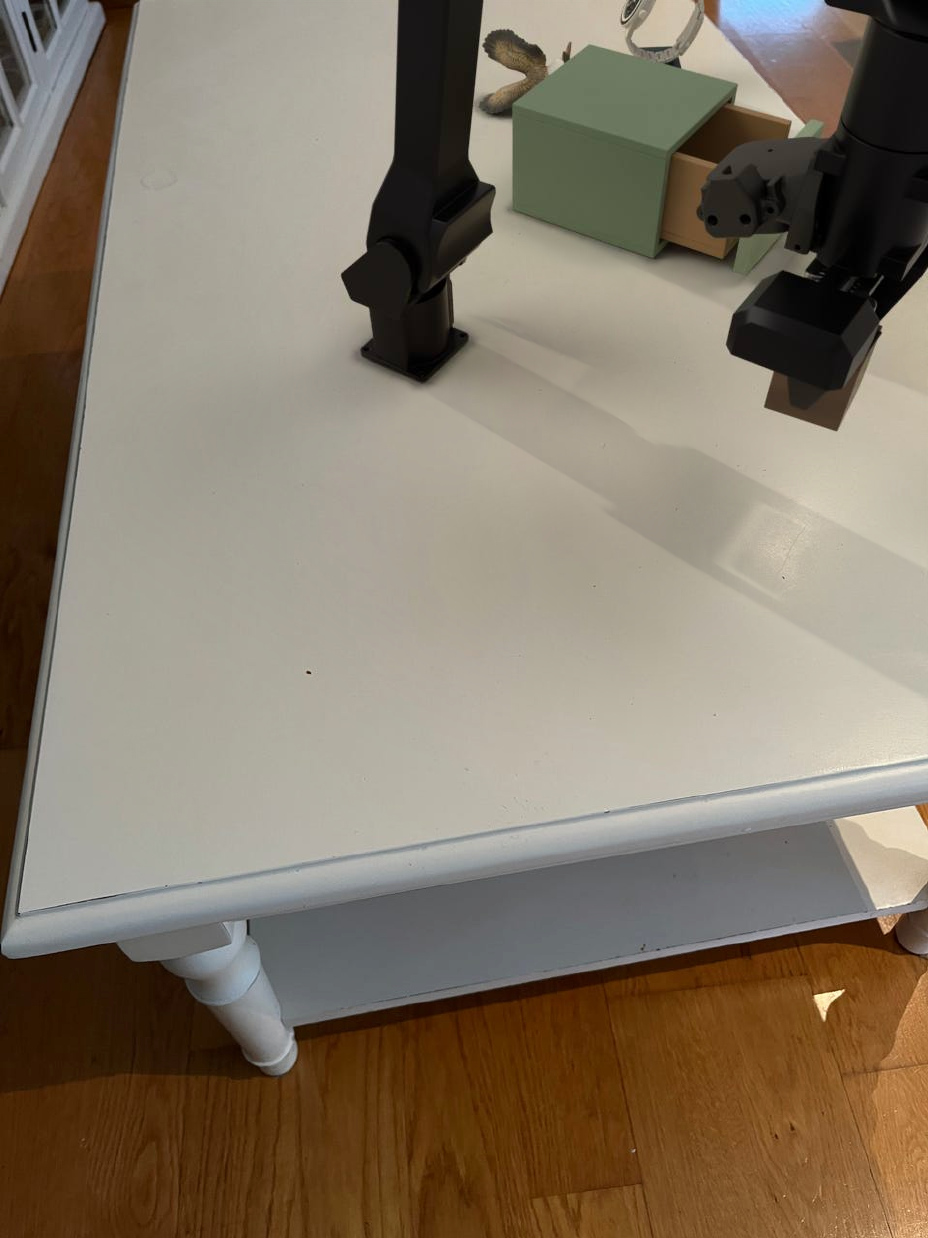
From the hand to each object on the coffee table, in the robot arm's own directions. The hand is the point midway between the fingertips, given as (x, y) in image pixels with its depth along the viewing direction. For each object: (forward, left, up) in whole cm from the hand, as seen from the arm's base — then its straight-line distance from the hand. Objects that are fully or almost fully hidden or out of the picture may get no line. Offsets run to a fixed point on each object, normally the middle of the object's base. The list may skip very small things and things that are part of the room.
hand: (815, 383), depth 58 cm
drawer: (+27, +17, -10) cm, 34 cm away
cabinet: (+27, +28, -11) cm, 40 cm away
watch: (+47, +35, -11) cm, 60 cm away
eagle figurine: (+38, +45, -11) cm, 60 cm away
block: (0, 0, -1) cm, 1 cm away
